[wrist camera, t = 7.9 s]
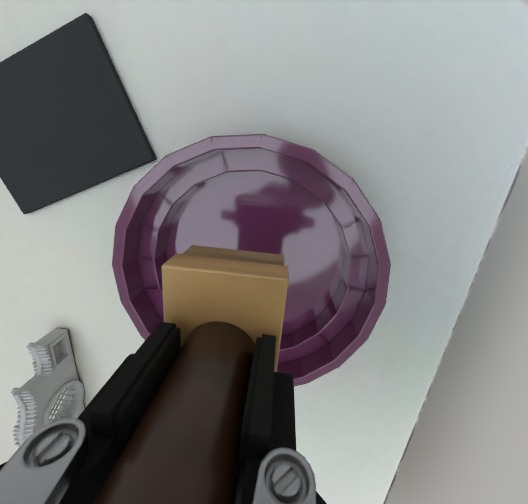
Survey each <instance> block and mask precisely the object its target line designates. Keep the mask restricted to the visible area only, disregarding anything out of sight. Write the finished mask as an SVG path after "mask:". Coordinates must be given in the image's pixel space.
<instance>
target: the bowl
mask: <svg viewBox="0 0 528 504" xmlns="http://www.w3.org/2000/svg"><path fill="white" fill-rule="evenodd" d="M192 245H196V246H206V247H215V248H224V249H234V250H243V251H252V252H262V253H271V254H280V255H284V266H288V279H289V281H288V289H287V296H286V304H285V312H284V319H283V327H282V335H281V343H280V350H279V358H278V366H277V372H280V373H288V374H293V381H294V386H298V385H303V384H307V383H309V382H311V381H313V380H315V379H317V378H319V377H321V376H323V375H325V374H327V373H328V372H330V371H332V370H334V369H336V368H338V367H340V366H341V365H342V364H343V363H344V362H345V361H346V360H347V359H348V358H349V357H350V356H351V355H352V354H353V353H354V352H355V351H356V350H357V349H358V348H360V347H361V346H362V345H363V344H364V343H365V342H366V341H367V339H368V338H369V336H370V334H371V332H372V330H373V328H374V326H375V324H376V322H377V320H378V318H379V316H380V314H381V312H382V310H383V308H384V306H385V304H386V297H387V289H388V282H389V274H390V266H391V264H390V259H389V254H388V250H387V246H386V241H385V237H384V233H383V229H382V224H381V221H380V218H379V217H378V215H377V214H376V212H375V211H374V209H373V208H372V206H371V205H370V203H369V202H368V200H367V199H366V197H365V196H364V194H363V193H362V191H361V190H360V188H359V187H358V185H357V184H356V182H355V181H354V180H353V179H352V178H351V177H350V176H348V175H347V174H346V173H344V172H343V171H342V170H340V169H339V168H338V167H336V166H335V165H333V164H332V163H331V162H329V161H328V160H327V159H325V158H324V157H323V156H321V155H320V154H319V153H317V152H316V151H315V150H312V149H311V148H307V147H304V146H301V145H298V144H294V143H291V142H288V141H285V140H281V139H278V138H275V137H271V136H268V135H265V134H249V135H228V136H212V137H208V138H206V139H203V140H201V141H199V142H196V143H194V144H192V145H189V146H187V147H185V148H182V149H180V150H178V151H175V152H173V153H171V154H168V155H167V156H165V157H164V158H163V159H162V160H161V161H160V162H159V163H158V164H157V165H156V166H154V167H153V168H152V169H151V170H150V171H149V172H148V173H147V174H146V175H145V176H144V177H143V178H142V179H141V180H140V181H139V182H138V183H137V184H136V185H135V186H134V187H133V189H132V191H131V193H130V195H129V198H128V200H127V202H126V204H125V206H124V208H123V210H122V212H121V215H120V217H119V219H118V221H117V223H116V226H115V237H114V248H113V259H112V267H113V271H114V275H115V279H116V283H117V288H118V292H119V296H120V300H121V302H122V304H123V306H124V308H125V310H126V311H127V313H128V315H129V316H130V318H131V320H132V321H133V323H134V325H135V327H136V328H137V330H138V332H139V333H140V334H141V336H142V337H143V338H144V339H145V340H146V339H147V338H148V337H149V335H150V334H151V333H152V331H153V330H154V329H155V328H156V326H157V325H158V324H159V323H160V322H164V309H163V287H162V265H163V264H164V263H165V262H166V261H168V260H169V259H170V258H171V257H173V256H174V255H175V254H182V253H183V252H185V251H186V250H187V249H188V248H189V247H190V246H192Z"/></svg>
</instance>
